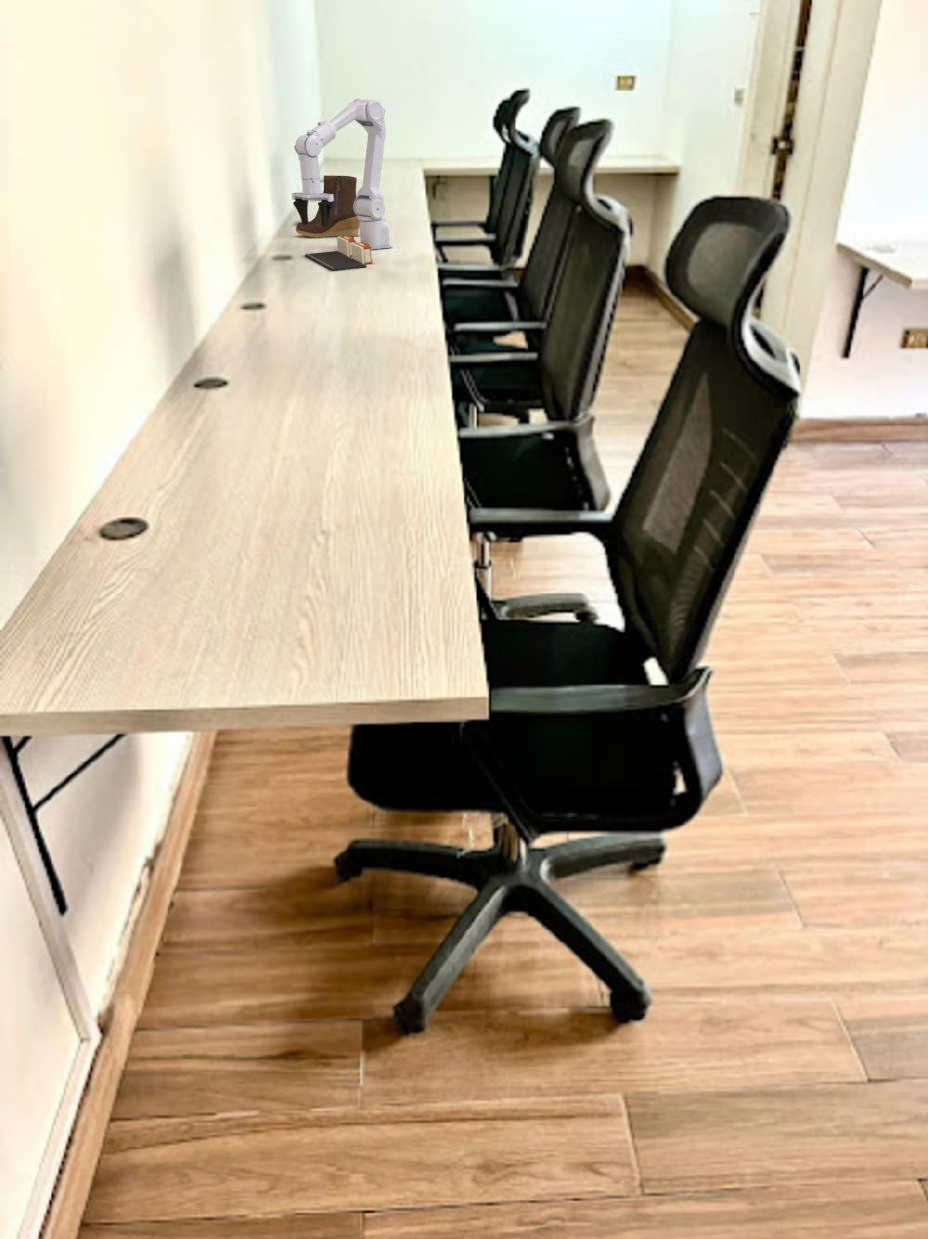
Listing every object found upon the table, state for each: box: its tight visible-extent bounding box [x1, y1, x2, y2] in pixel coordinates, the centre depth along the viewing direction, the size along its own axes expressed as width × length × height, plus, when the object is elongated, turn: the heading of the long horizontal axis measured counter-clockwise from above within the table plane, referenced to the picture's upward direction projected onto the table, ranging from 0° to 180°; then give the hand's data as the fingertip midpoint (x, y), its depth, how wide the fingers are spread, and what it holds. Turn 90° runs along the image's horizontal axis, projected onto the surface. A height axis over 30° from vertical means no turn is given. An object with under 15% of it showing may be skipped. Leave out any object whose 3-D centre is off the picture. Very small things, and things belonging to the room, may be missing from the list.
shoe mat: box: [304, 250, 367, 272], centre depth 301 cm, size 11×28×1 cm, turn 25°
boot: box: [295, 174, 360, 239], centre depth 337 cm, size 9×24×20 cm, turn 84°
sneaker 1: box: [336, 236, 357, 258], centre depth 310 cm, size 4×10×5 cm, turn 25°
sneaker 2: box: [351, 241, 373, 265], centre depth 299 cm, size 4×10×5 cm, turn 25°
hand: (315, 225), depth 303 cm, fingers open, 7 cm apart
